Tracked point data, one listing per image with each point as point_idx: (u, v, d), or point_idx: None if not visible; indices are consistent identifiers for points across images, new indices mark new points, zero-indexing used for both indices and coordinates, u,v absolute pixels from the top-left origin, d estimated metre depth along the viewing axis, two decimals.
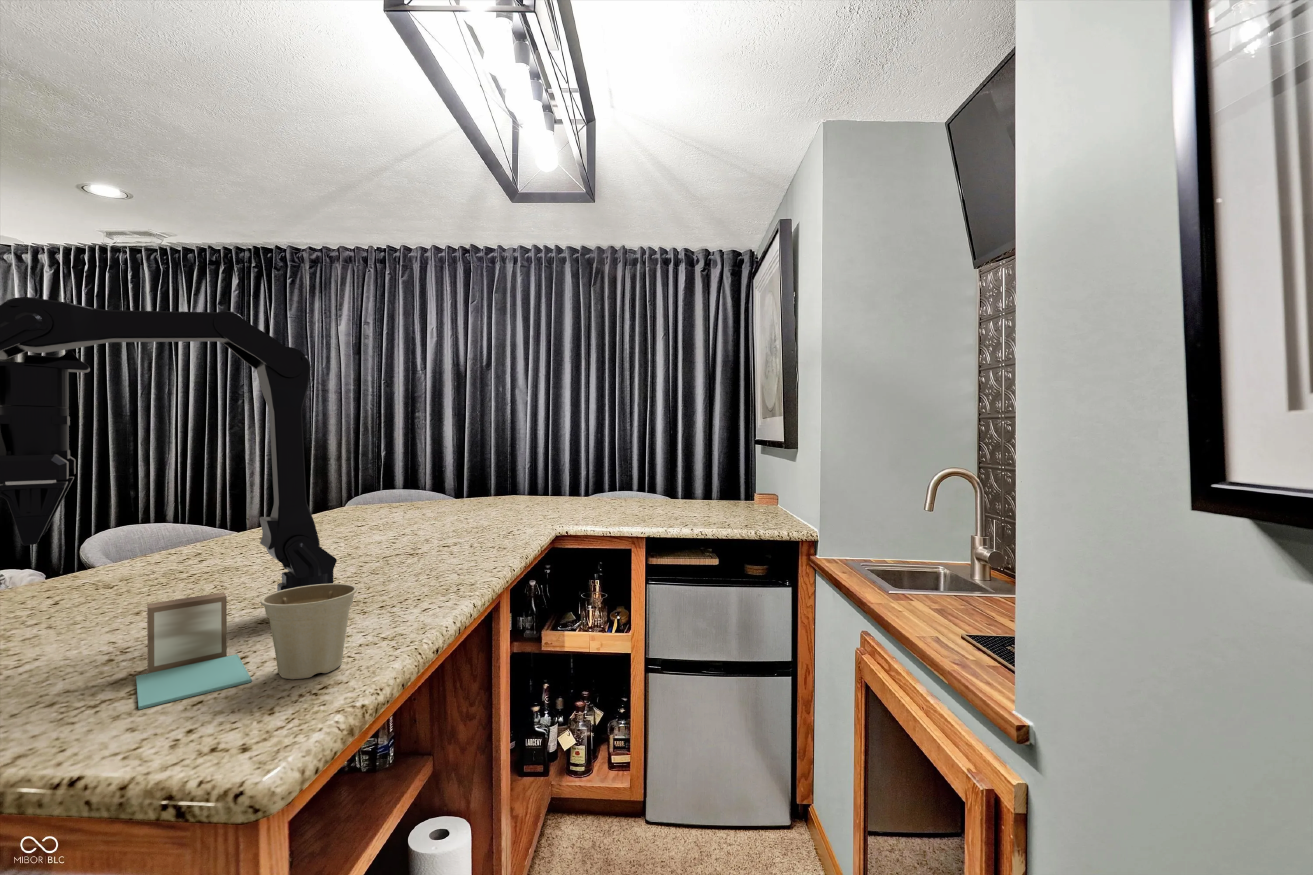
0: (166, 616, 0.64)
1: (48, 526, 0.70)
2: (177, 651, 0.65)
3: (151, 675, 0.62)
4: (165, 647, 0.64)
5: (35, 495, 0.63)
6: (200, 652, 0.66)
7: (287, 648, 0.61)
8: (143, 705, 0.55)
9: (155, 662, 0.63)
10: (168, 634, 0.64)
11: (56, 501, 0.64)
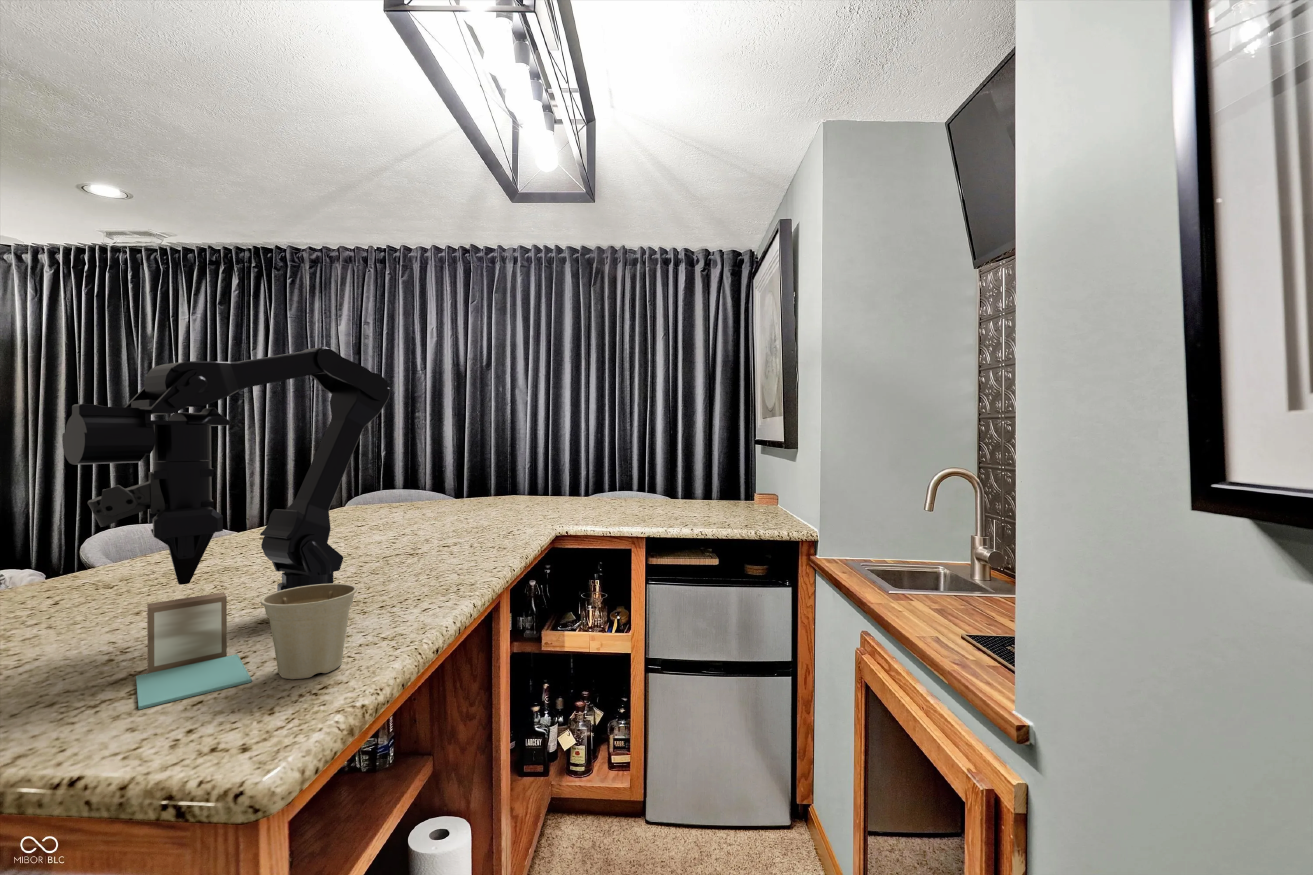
0: (166, 616, 0.64)
1: (192, 574, 0.72)
2: (177, 651, 0.65)
3: (151, 675, 0.62)
4: (166, 647, 0.64)
5: (189, 540, 0.71)
6: (200, 652, 0.66)
7: (287, 648, 0.61)
8: (143, 705, 0.55)
9: (155, 662, 0.63)
10: (168, 634, 0.64)
11: (206, 545, 0.72)
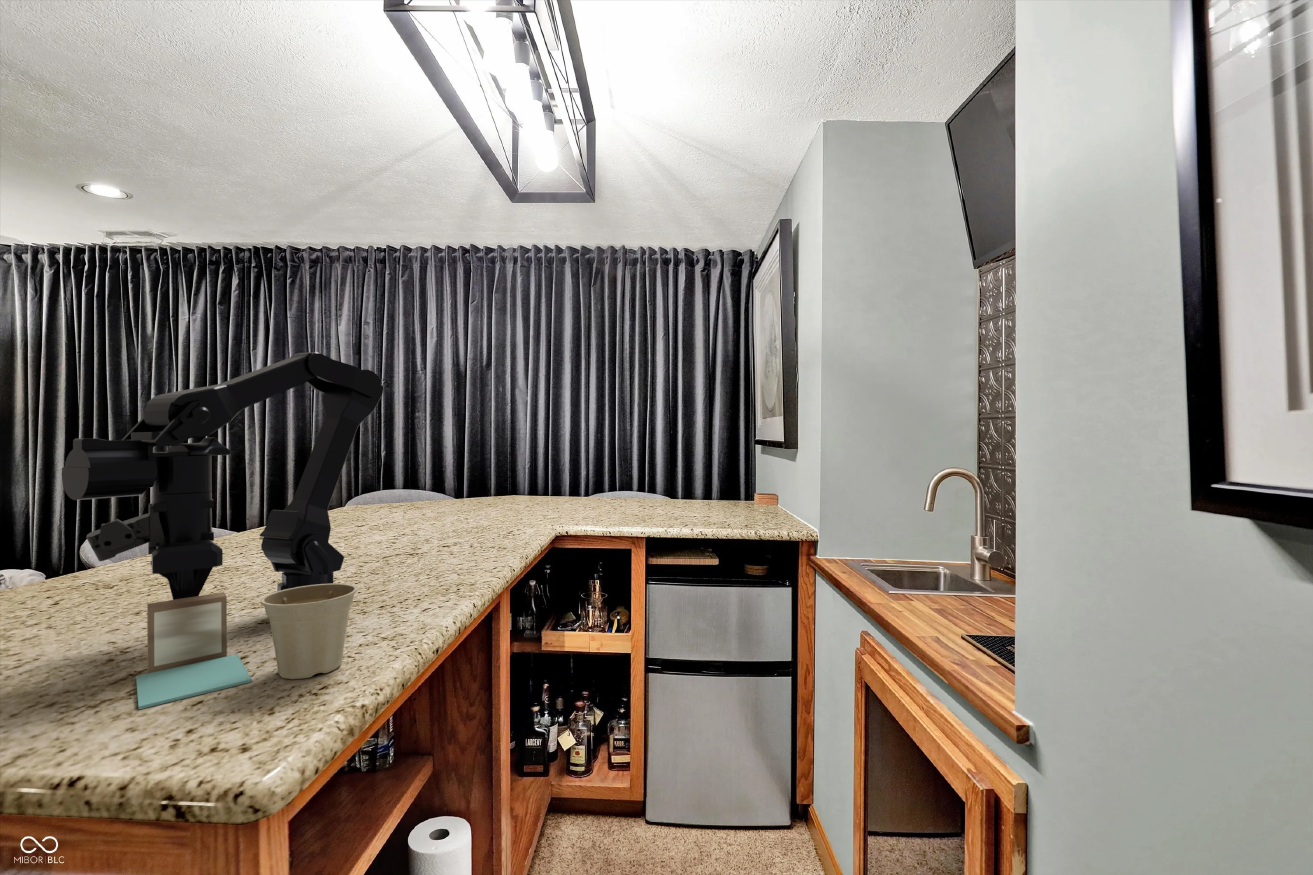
0: (166, 616, 0.64)
1: None
2: (177, 651, 0.65)
3: (151, 675, 0.62)
4: (165, 647, 0.64)
5: (189, 573, 0.70)
6: (200, 652, 0.66)
7: (287, 648, 0.61)
8: (143, 705, 0.55)
9: (155, 662, 0.63)
10: (168, 633, 0.64)
11: (206, 578, 0.71)
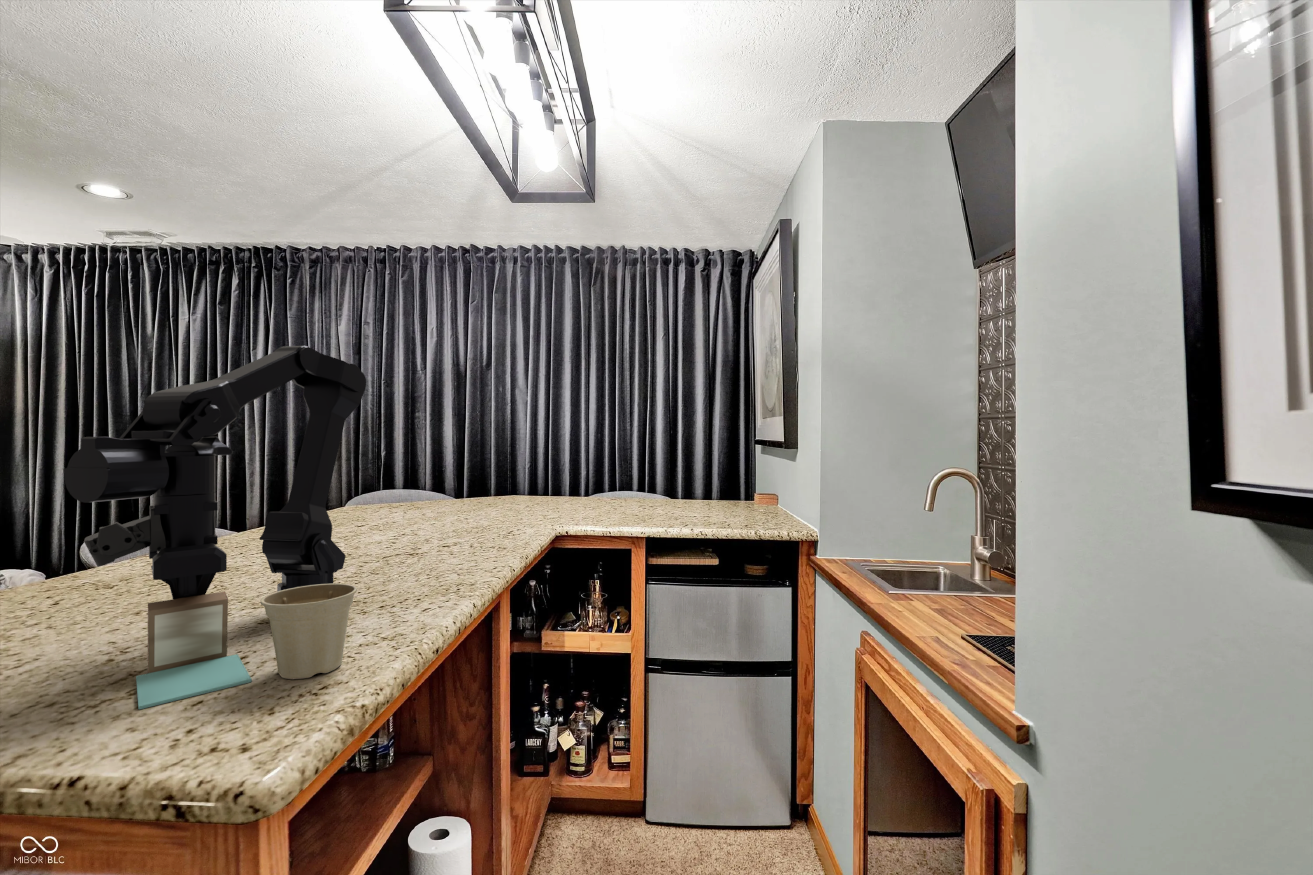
0: (167, 618, 0.63)
1: None
2: (177, 652, 0.64)
3: (151, 675, 0.62)
4: (166, 648, 0.64)
5: (191, 578, 0.67)
6: (200, 653, 0.66)
7: (287, 648, 0.61)
8: (143, 705, 0.55)
9: (155, 663, 0.63)
10: (168, 635, 0.64)
11: (209, 583, 0.68)
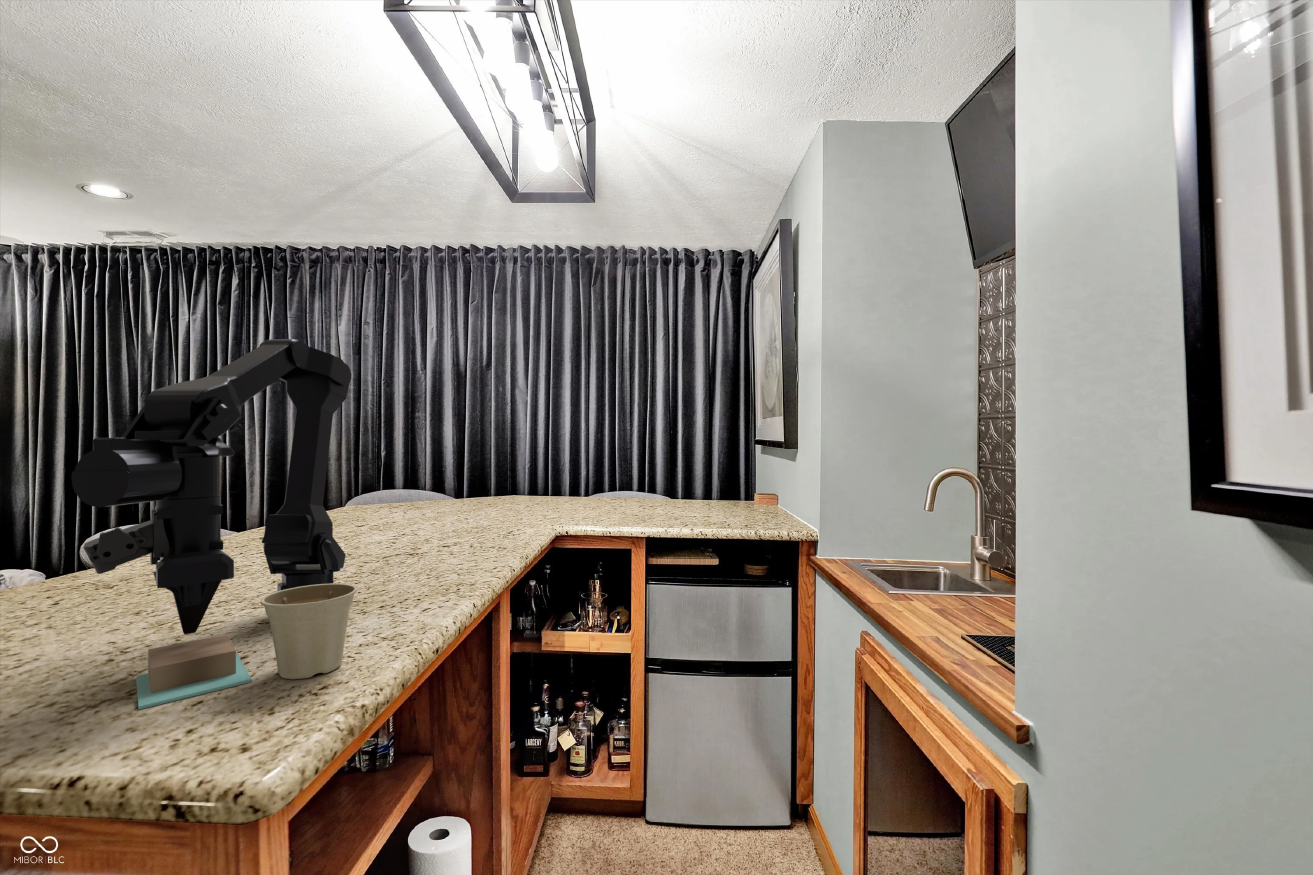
0: None
1: None
2: None
3: None
4: None
5: (196, 585, 0.64)
6: None
7: (287, 648, 0.61)
8: (143, 705, 0.55)
9: None
10: None
11: (215, 590, 0.65)
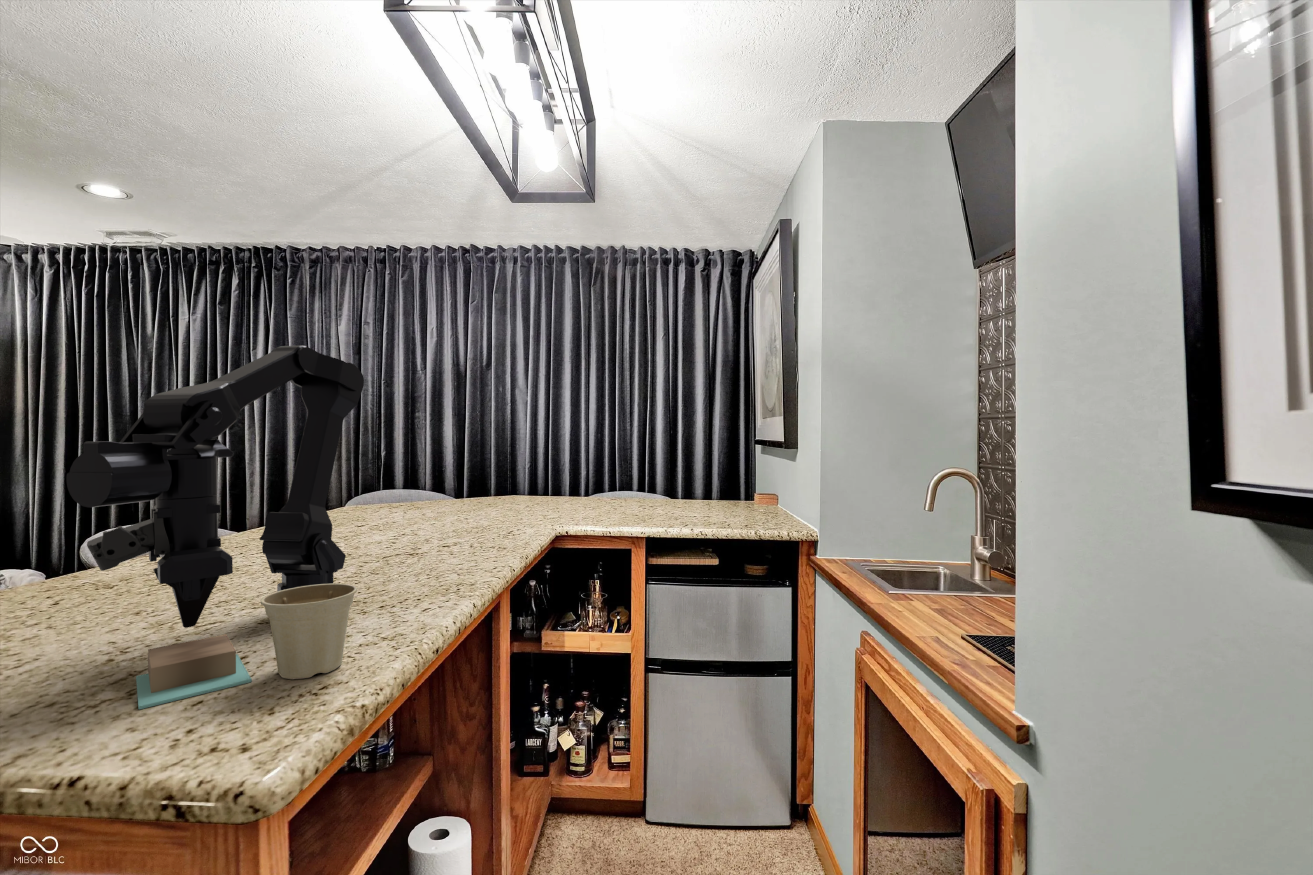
0: None
1: None
2: None
3: None
4: None
5: (195, 581, 0.67)
6: None
7: (287, 648, 0.61)
8: (143, 705, 0.55)
9: None
10: None
11: (213, 586, 0.68)
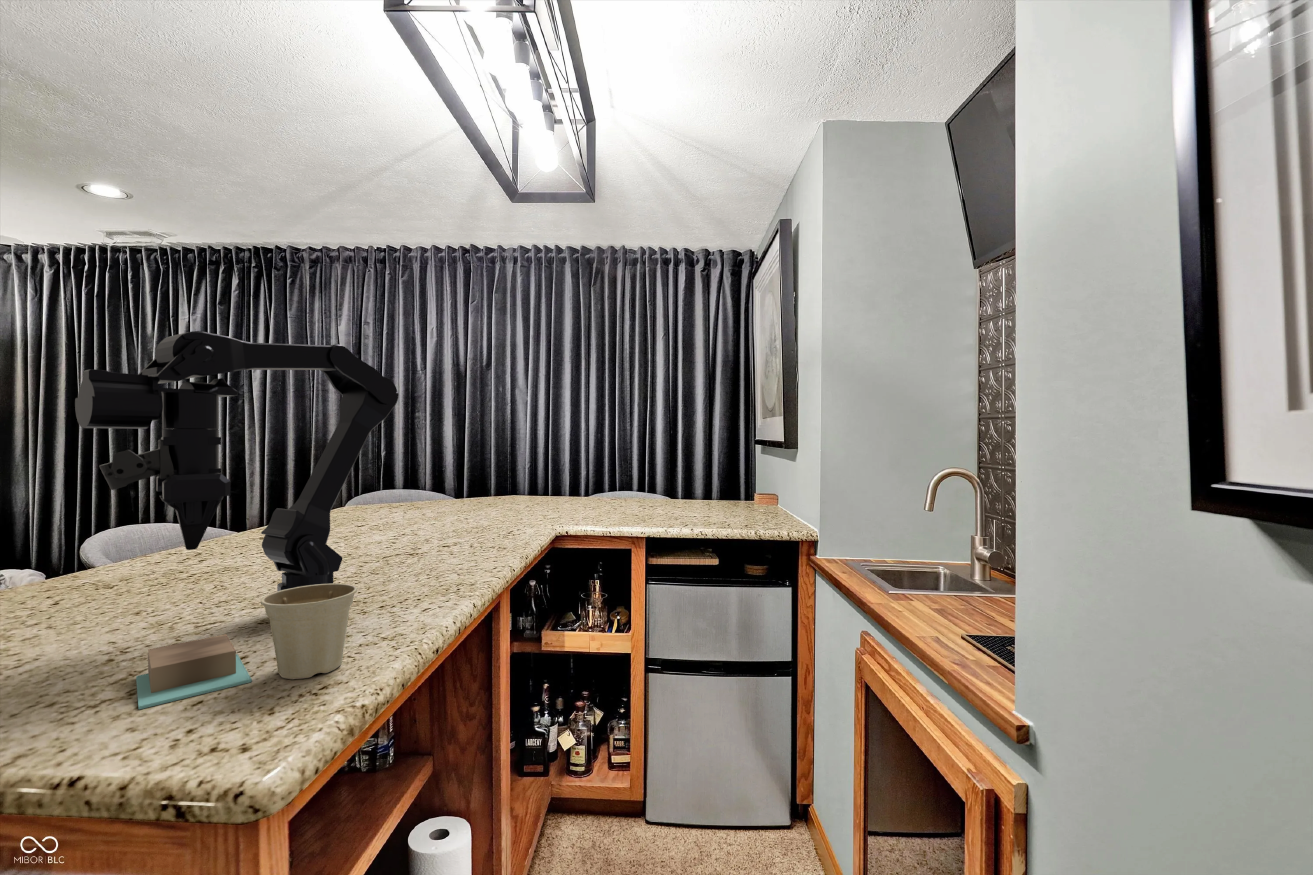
0: None
1: None
2: None
3: None
4: None
5: (197, 506, 0.73)
6: None
7: (287, 648, 0.61)
8: (143, 705, 0.55)
9: None
10: None
11: (214, 512, 0.74)
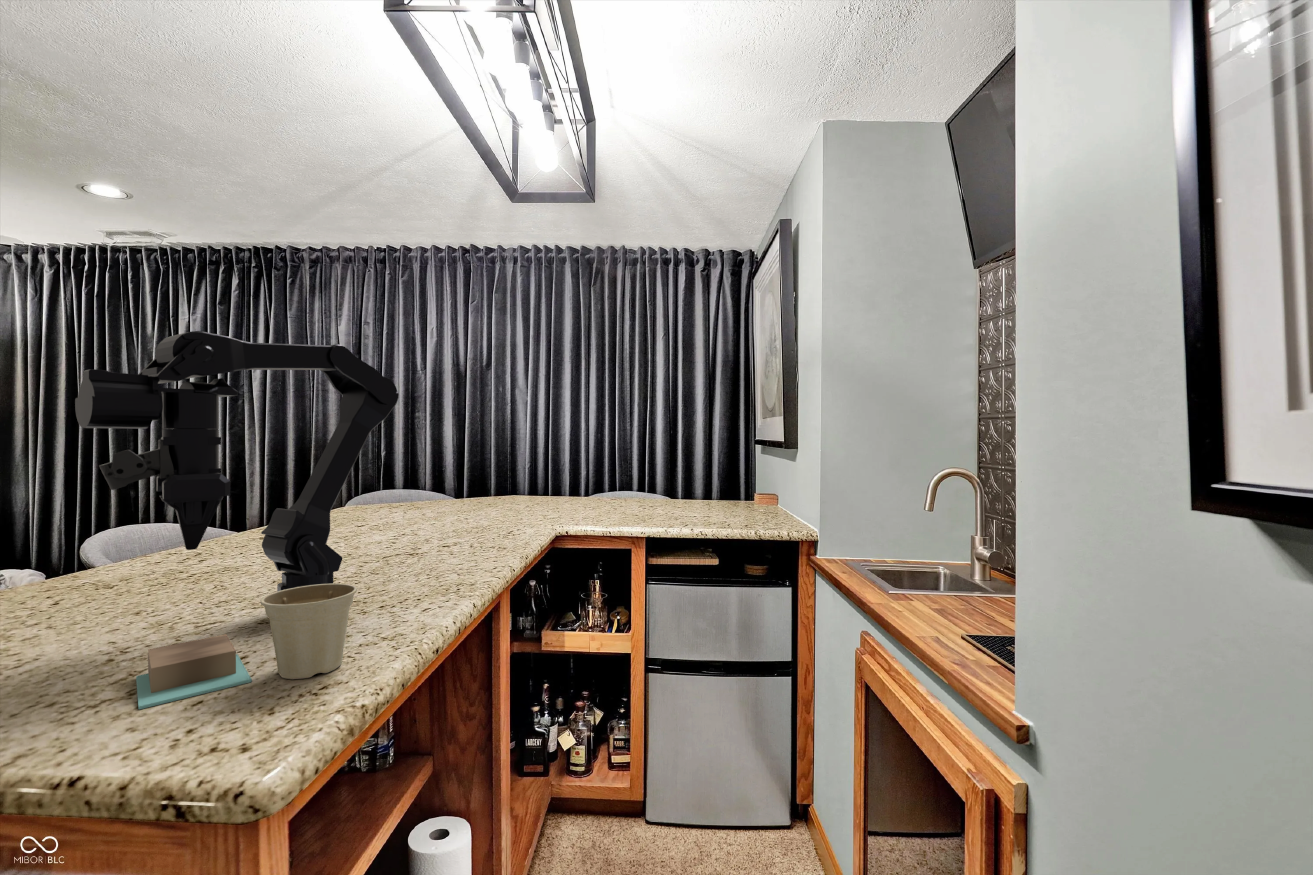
0: None
1: None
2: None
3: None
4: None
5: (197, 506, 0.73)
6: None
7: (287, 648, 0.61)
8: (143, 705, 0.55)
9: None
10: None
11: (214, 512, 0.74)
